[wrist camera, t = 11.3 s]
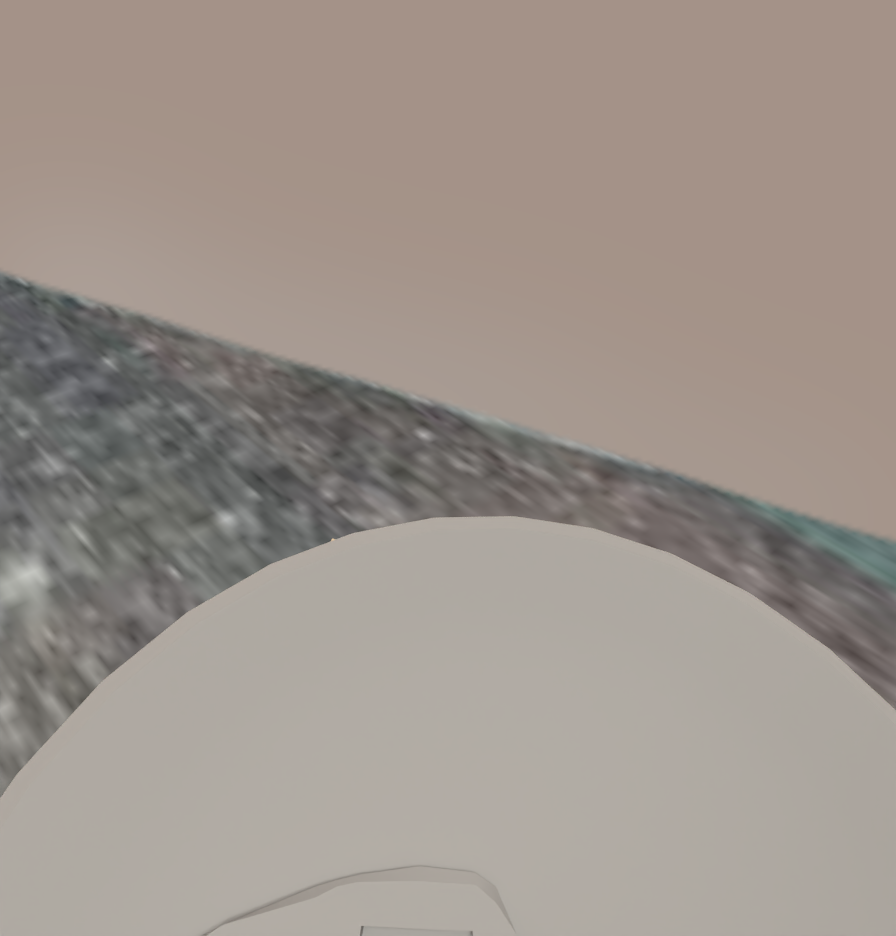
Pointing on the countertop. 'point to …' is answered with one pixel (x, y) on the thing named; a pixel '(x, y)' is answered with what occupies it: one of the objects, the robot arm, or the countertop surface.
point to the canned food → (464, 756)
